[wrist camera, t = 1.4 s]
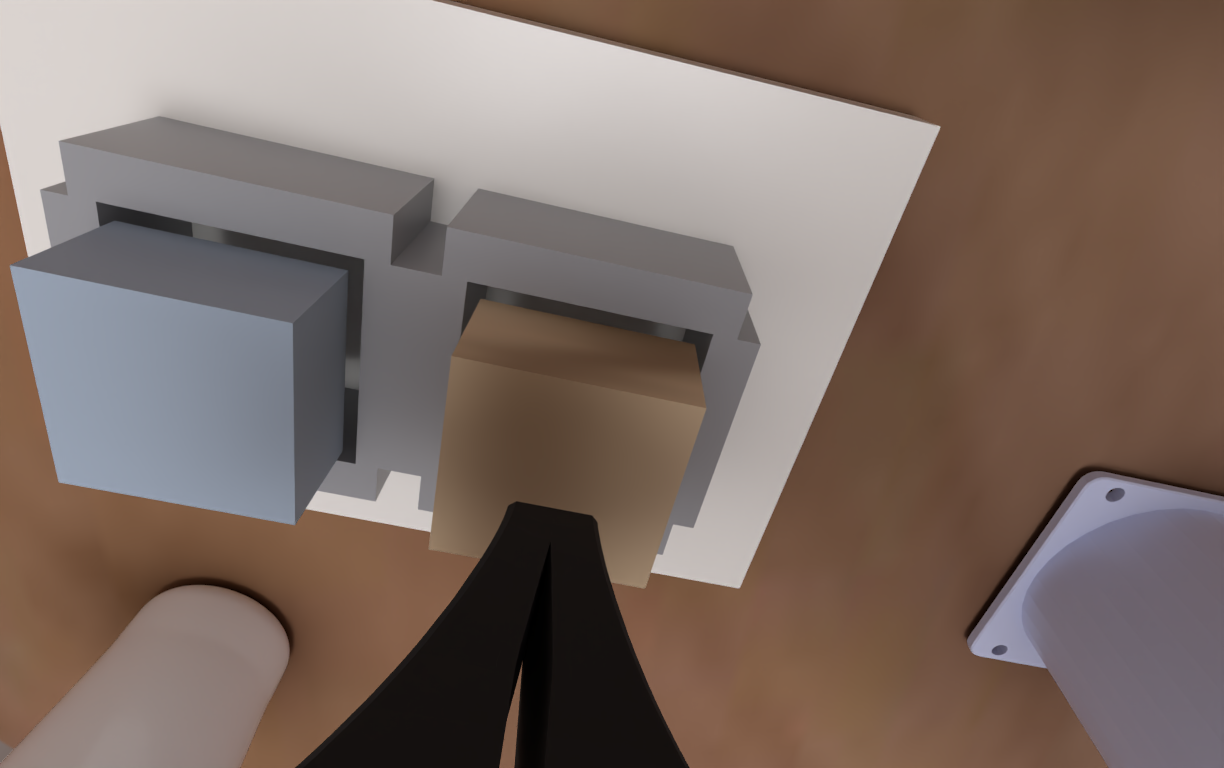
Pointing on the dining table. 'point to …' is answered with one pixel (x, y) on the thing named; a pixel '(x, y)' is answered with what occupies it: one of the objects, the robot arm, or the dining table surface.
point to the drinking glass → (168, 689)
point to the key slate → (187, 368)
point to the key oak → (565, 431)
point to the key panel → (479, 207)
